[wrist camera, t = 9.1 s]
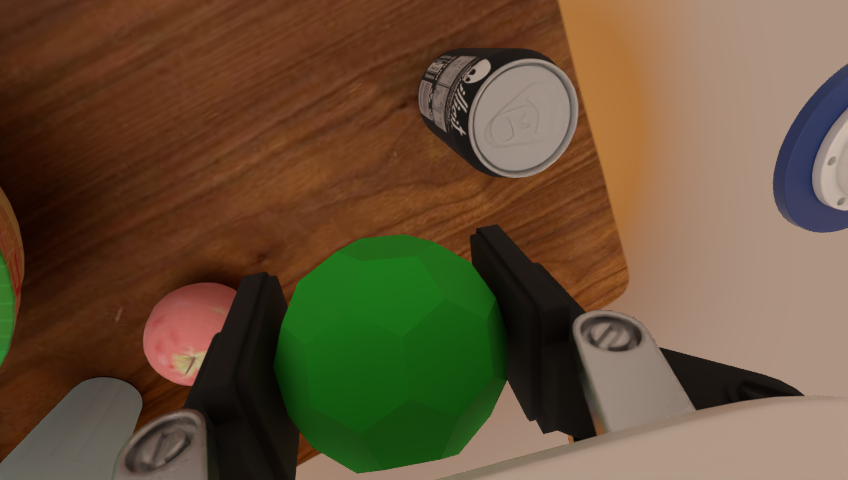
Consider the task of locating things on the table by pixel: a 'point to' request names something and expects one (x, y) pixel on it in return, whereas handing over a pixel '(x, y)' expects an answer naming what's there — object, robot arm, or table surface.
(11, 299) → the bowl
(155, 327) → the apple
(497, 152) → the beverage can
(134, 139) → the table surface
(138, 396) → the cup
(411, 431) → the polyhedron
